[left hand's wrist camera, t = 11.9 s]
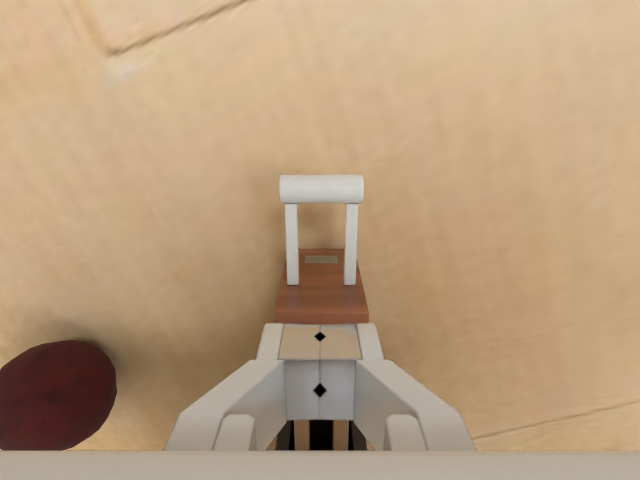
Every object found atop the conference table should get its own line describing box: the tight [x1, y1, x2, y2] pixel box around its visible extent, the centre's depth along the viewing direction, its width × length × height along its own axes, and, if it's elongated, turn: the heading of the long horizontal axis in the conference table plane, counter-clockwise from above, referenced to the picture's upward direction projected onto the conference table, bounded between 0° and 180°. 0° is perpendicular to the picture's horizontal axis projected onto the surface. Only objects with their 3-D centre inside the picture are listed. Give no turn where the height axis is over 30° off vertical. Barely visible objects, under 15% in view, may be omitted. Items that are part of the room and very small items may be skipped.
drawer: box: [274, 175, 369, 451], centre depth 23 cm, size 22×4×8 cm, turn 0°
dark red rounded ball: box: [0, 340, 117, 451], centre depth 26 cm, size 7×8×7 cm
